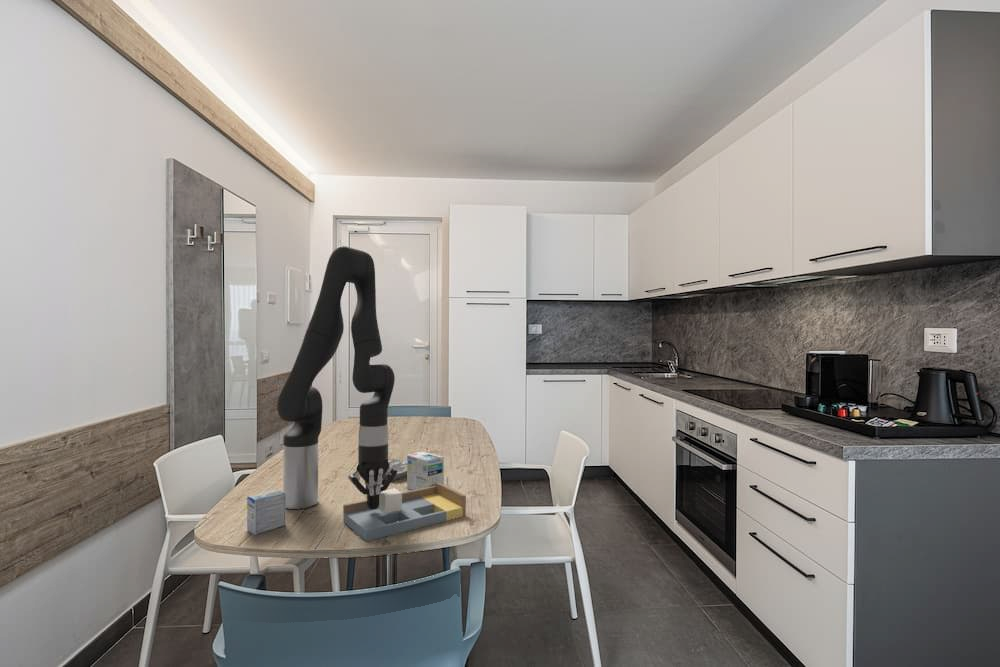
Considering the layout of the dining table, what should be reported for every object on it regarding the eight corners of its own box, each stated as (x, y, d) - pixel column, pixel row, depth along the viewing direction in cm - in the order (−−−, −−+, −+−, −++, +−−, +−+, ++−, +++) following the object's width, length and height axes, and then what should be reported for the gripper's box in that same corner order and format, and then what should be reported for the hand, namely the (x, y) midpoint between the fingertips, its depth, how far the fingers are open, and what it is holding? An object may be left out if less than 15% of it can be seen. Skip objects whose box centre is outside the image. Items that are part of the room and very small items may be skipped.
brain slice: (425, 472, 180) (425, 463, 180) (394, 485, 165) (394, 475, 165) (381, 464, 189) (382, 456, 189) (348, 476, 174) (348, 467, 174)
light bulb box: (444, 491, 159) (444, 456, 159) (427, 496, 154) (427, 460, 154) (422, 483, 166) (423, 450, 166) (405, 488, 161) (406, 454, 161)
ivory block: (379, 508, 136) (379, 491, 136) (394, 504, 139) (394, 488, 139) (385, 513, 133) (385, 495, 133) (401, 509, 135) (402, 492, 135)
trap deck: (343, 521, 133) (343, 500, 133) (437, 500, 150) (437, 481, 150) (366, 541, 121) (366, 518, 121) (465, 515, 138) (465, 495, 138)
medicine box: (277, 521, 133) (277, 488, 133) (286, 526, 130) (286, 492, 130) (246, 530, 127) (246, 496, 127) (254, 535, 124) (255, 500, 124)
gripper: (391, 436, 140) (390, 499, 140) (343, 442, 132) (342, 509, 132) (403, 441, 134) (402, 507, 134) (353, 448, 126) (353, 518, 126)
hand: (372, 508), depth 133 cm, fingers closed
